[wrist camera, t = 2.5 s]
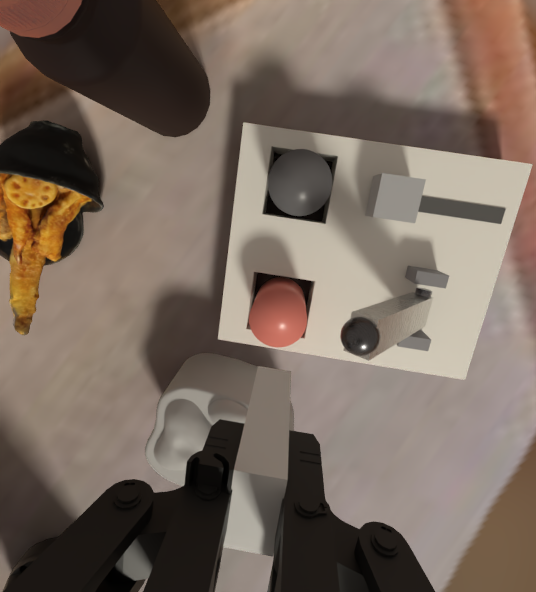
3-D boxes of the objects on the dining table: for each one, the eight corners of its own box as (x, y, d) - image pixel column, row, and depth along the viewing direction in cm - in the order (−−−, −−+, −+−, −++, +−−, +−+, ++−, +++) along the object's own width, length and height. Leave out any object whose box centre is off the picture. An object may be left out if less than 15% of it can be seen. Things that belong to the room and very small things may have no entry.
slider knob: (365, 215, 29) (372, 217, 26) (373, 176, 28) (382, 173, 25) (402, 221, 29) (415, 223, 26) (412, 181, 28) (426, 179, 25)
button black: (269, 209, 31) (263, 210, 26) (276, 154, 30) (273, 144, 24) (320, 217, 31) (325, 220, 25) (330, 162, 30) (338, 154, 24)
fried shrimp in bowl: (112, 121, 28) (72, 354, 27) (116, 169, 38) (87, 340, 37) (-34, 77, 25) (-87, 341, 24) (13, 143, 35) (-22, 329, 34)
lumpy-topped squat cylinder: (189, 342, 37) (158, 383, 29) (309, 383, 37) (313, 435, 29) (164, 426, 40) (130, 485, 32) (276, 463, 40) (271, 532, 32)
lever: (403, 322, 31) (328, 359, 21) (412, 285, 30) (339, 306, 20) (430, 330, 29) (363, 374, 19) (440, 292, 28) (377, 318, 19)
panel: (225, 324, 36) (212, 349, 30) (249, 132, 32) (238, 115, 26) (446, 360, 36) (478, 393, 30) (503, 169, 31) (554, 160, 25)
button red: (253, 320, 33) (245, 342, 28) (259, 273, 32) (253, 287, 27) (300, 327, 33) (301, 351, 28) (308, 281, 32) (311, 296, 27)
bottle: (142, 41, 31) (-117, -232, 11) (219, 63, 31) (92, -174, 11) (128, 126, 32) (-116, 13, 13) (202, 147, 32) (66, 64, 13)
